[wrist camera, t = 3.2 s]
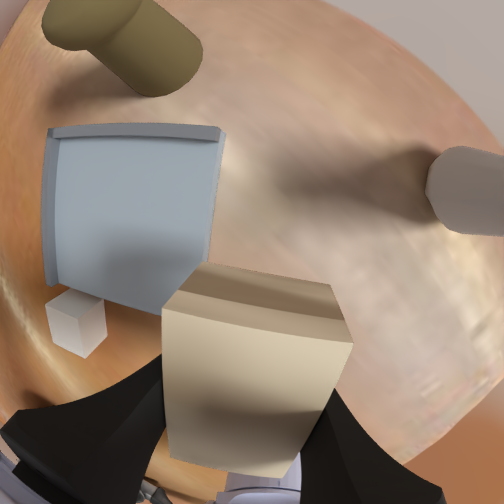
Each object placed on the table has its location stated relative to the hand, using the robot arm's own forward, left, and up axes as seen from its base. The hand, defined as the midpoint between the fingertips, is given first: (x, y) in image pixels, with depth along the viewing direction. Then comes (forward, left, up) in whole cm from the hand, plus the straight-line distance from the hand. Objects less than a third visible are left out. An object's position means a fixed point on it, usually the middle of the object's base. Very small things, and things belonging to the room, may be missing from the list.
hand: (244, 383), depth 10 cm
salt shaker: (+10, -12, -10) cm, 18 cm away
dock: (+4, +11, -9) cm, 15 cm away
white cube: (-6, +15, -10) cm, 19 cm away
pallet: (0, 0, -2) cm, 2 cm away
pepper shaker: (+16, +10, -10) cm, 21 cm away
